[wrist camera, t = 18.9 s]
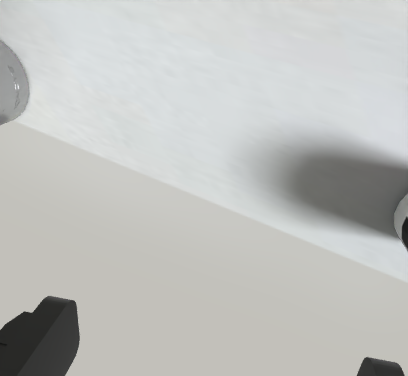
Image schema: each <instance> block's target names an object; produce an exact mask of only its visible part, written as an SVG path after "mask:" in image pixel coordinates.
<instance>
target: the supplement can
mask: <svg viewBox="0 0 408 376" xmlns="http://www.w3.org/2000/svg"><path fill="white" fill-rule="evenodd" d="M394 227H395V229H396V232H397V234H398V236H399V238H400V239H401V241H402V243H403V244H404V246H405V248H406V249H407V251H408V194H407V195H406V196H405V197H404V198H403V199H402V200H401V201H400V202H399V204H398V206H397V209H396V211H395V213H394Z"/></svg>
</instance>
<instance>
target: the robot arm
mask: <svg viewBox="0 0 408 376" xmlns="http://www.w3.org/2000/svg"><path fill="white" fill-rule="evenodd" d="M28 98H29V84H28V79H27V75H26V73H25V70H24V68H23V66H22V64H21V62H20V61H19V59H18V57H17V56H16V55H15V54H14V53H13V51H12V50H11V49H10V48H9V47H8V46H6V45H5V44H4V43H3V42H1V41H0V125H2V124H4V123H7V122H9V121H12V120H14V119H15V118H17V117H18V116H20V115H21V113H22V112H23V111H24V110H25V107H26V105H27V103H28ZM79 340H80V336H79V326H78V316H77V306H76V302H75V301H73V300H68V299H63V298H58V297H52V296H48V297H46V298H45V299H43V300H42V302H41V303H40V304H39V305H38V307H37V308H36V309H35V310H34V312H33V313H29V312H23V313H21V314H20V315H18V316H17V317H16V318H14V319H13V320H11V321H10V322H8V323H7V324H5V325H4V327H3V328H2V329H1V330H0V376H65V374H66V373H67V371H68V369H69V367H70V366H71V364H72V362H73V360H74V358H75V356H76V353H77V350H78V347H79ZM357 376H404V373H403V371H402V368H401V367H400V365H399V364H397V363H395V362H390V361H385V360H379V359H374V358H368V357H366V358H364V360H363V362H362V364H361V367H360V369H359V371H358V374H357Z"/></svg>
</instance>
